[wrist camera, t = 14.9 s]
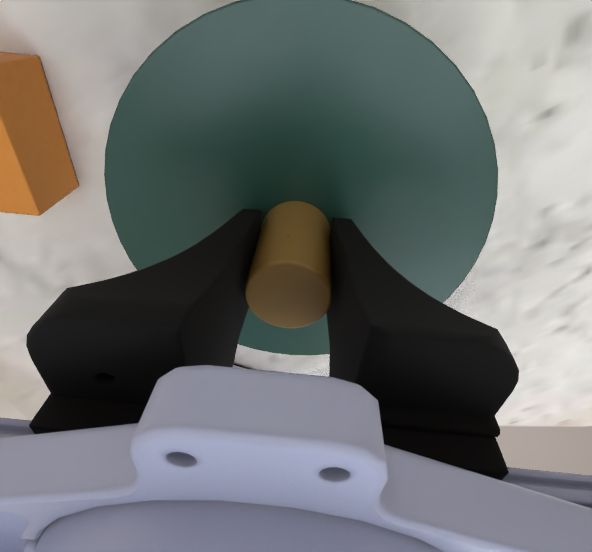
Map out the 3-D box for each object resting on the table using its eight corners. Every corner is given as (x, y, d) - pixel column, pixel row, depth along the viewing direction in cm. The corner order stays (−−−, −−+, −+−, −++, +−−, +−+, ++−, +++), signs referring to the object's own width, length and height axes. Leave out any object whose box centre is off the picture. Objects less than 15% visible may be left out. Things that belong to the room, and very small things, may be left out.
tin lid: (360, 369, 19) (370, 460, 15) (100, 277, 16) (33, 361, 12) (580, 128, 11) (710, 193, 7) (157, -123, 8) (25, -220, 5)
